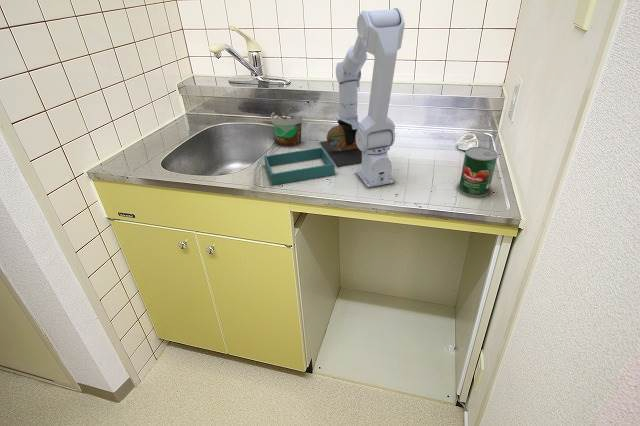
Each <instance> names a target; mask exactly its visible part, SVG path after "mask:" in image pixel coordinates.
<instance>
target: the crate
mask: <svg viewBox="0 0 640 426" xmlns="http://www.w3.org/2000/svg"><path fill="white" fill-rule="evenodd" d="M318 159H322V161H323V163H324V164H323V165H316V166H309V167H303V168H298V169H291V170H285V171H278V172H274V173H273V171H272V169H271V167H273V166H280V165H285V164H291V163H299V162H305V161H311V160H312V161H313V160H318ZM264 165H265V169H266V171H267V174H268V177H269V181H270V183H271V186H276V185H281V184H282V185H283V184H287V183H294V182H299V181H306V180H311V179H317V178H323V177H328V176H333V175H334V176H335V173H336V172H335V171H336V169H335V162H334V161H333V160H332V158H331V157H330V155H329V154H328V153H327V151H326V150H325V148H324V147H323V146H321V147H316V148H308V149H303V150H296V151H289V152H283V153H282V152H281V153H277V154H269V155H264Z"/></svg>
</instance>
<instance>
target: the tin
mask: <svg viewBox="0 0 640 426" xmlns="http://www.w3.org/2000/svg"><path fill="white" fill-rule="evenodd" d="M358 122H359V123H360V122H361V121H358ZM343 125H344V124H343ZM326 141H327V143H328V144H329V146H330V148H331V149H333V150H334V151H344V150H350V149H356V148H358V147H357V144H356V135H355V139H354V143H353V144H352V145H347V144H346V139H345V133H344V130H343V128H342V125H339V124H338V125H334V126H332V127H331V128H330V129H329V130H328V132H327V134H326Z"/></svg>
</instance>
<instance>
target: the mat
mask: <svg viewBox="0 0 640 426" xmlns="http://www.w3.org/2000/svg"><path fill="white" fill-rule="evenodd" d="M320 144H321V147H323V149H324V150H325V152H326V153H327V155H328V156H329V157H330V159H331V160H332V162H333V163H334V165H335V166H336V167H337V168H340V167H344V166H345V167H346V166H351V165H356V164H357V165H358V164H362V151H361V150H360V149H359V148H356V149H350V150H344V151H334V150H333V149H331V148H330V146H329V144H328V143H327V140H325V141H320Z"/></svg>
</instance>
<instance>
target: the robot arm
mask: <svg viewBox="0 0 640 426" xmlns="http://www.w3.org/2000/svg"><path fill="white" fill-rule="evenodd" d="M405 25H406V23H405V19H404V15H403V13H402V11H401V9H400V8H399V7H394V8H387V9H377V10H367V11H366V10H361V12H360V13H359V15H358V16H357V20H356V31H357V37H356V40H355V43H354V45H351V46H349V48H348V50H347V52H346V53H345V56H344V58H343V60H342V61H339V62H337V63H336V65H335V77H336V81H337V83H338V102H339V103H338V104H339V105H338V106H339V107H338V115H337V116H335V120H336V122H337V124H338V125H342V128H343V130H344V133H345V139H346V144H347V145H352V144H353V143H354V139H355V135H356V144H357V147H358V148H359V149H360V150H361V151H362V163H361V170H358V171H356V174H357V176H358V178H360V180H361V181H362V182H363V183H364V185H365V186H366V187H367V188H372V187H377V186H383V185H388V184H393V183H394V180H393V178H392V167H393V166H392V161H391V160H390V158H389V156H388V155H389V154H388V151H390V150H391V147H392V146H393V145H394V143H395V141H396V132H395V131H396V130H395V129H396V125H395V123H394V121H393V120H392V119H391V118H390V117H389V116H388V113H389V108H390V107H389V106H390V100H391V95H392V88H393V83H394V82H393V81H394V77H395V71H396V70H395V69H396V63H397V58H398V57H397V56H398V51H399V50H400V49H401V48H402V43H403V38H404V32H405ZM368 54H370V55H373V56H374V58H373V59H374V60H373V68H372V76H371V85H370V94H369V101H368V103H369V104H368V111H367V115H366V116H365V117H364V118H362V119H361V120H360V121H359V115H358V92H359V91H358V89H359V87H360V81H361V78H362V68H363V67H364V65H365V64H366V61H367V60H368ZM359 122H360V123H359ZM343 124H344V125H343Z"/></svg>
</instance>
